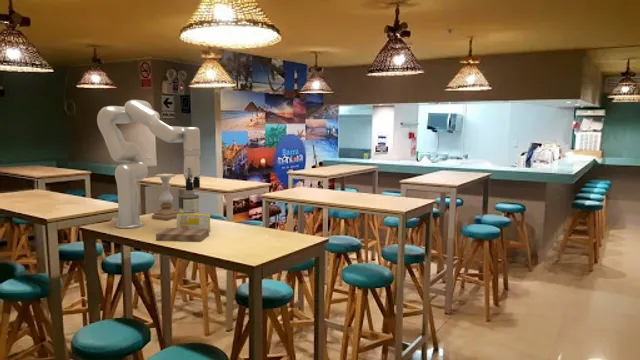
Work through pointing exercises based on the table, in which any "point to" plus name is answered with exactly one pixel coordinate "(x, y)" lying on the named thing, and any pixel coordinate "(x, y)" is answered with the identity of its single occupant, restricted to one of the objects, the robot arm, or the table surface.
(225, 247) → the table surface
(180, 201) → the coffee can
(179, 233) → the walnut plinth
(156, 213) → the candle holder
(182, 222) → the candy box
